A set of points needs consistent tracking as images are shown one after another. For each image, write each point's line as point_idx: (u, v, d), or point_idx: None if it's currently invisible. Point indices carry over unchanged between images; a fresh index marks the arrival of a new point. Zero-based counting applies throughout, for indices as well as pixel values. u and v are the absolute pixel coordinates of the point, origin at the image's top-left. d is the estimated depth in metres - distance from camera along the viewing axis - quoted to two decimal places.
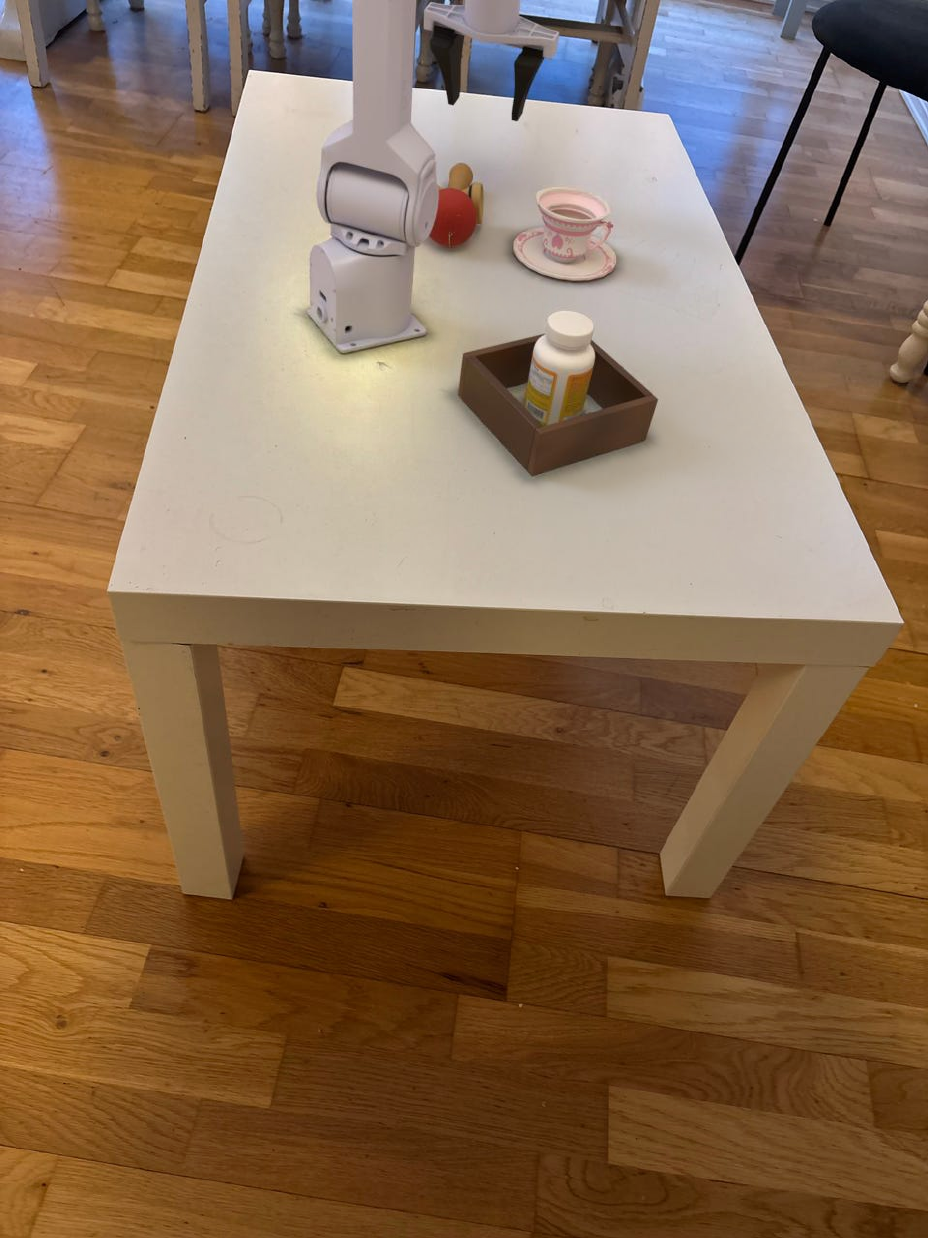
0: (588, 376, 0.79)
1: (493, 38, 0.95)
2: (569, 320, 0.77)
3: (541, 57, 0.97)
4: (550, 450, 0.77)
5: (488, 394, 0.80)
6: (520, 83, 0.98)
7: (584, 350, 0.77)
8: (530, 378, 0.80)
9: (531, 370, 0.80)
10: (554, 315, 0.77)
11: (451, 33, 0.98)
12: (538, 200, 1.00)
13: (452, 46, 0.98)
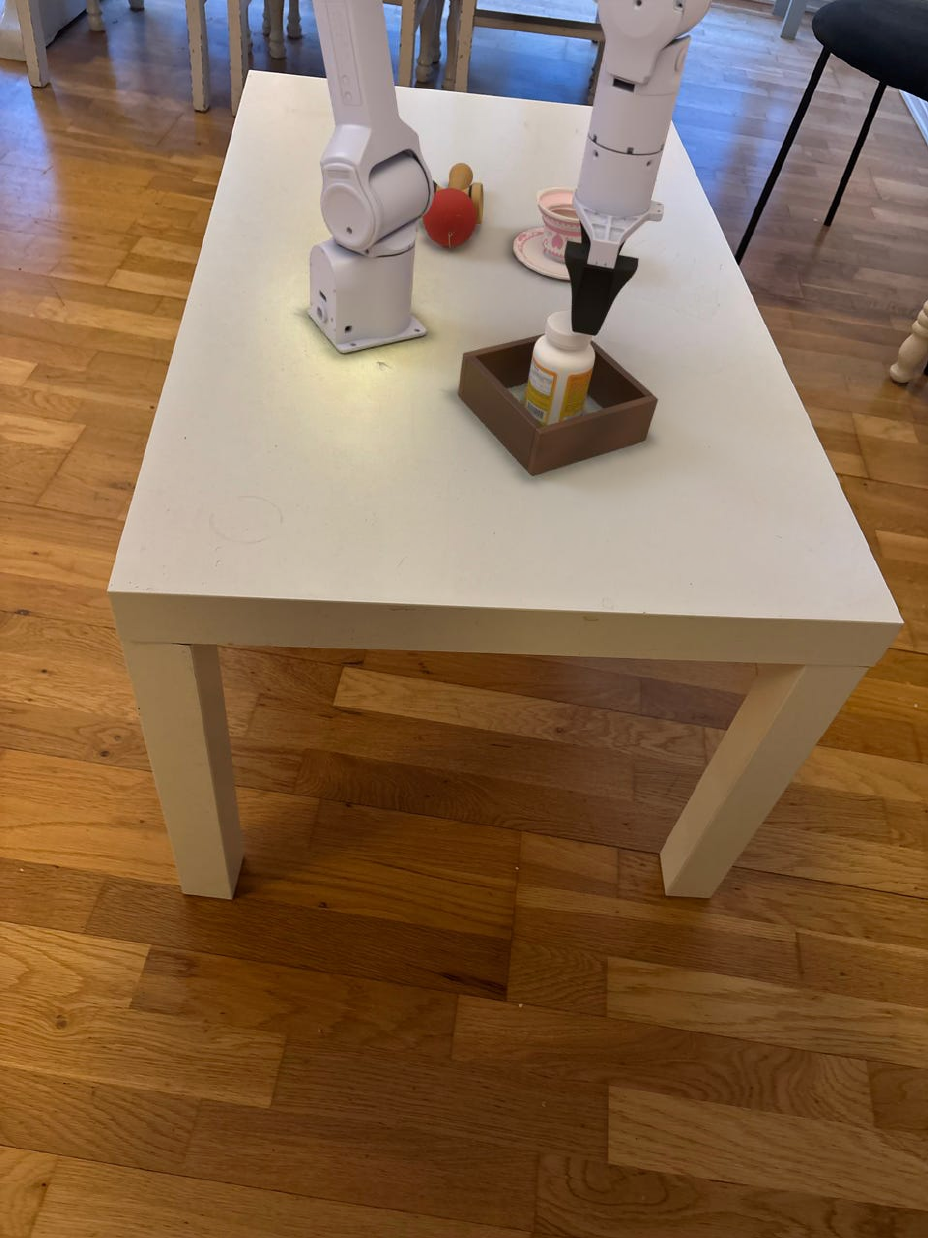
0: (588, 376, 0.79)
1: (574, 203, 0.70)
2: (569, 320, 0.77)
3: None
4: (550, 450, 0.77)
5: (488, 394, 0.80)
6: None
7: (584, 350, 0.77)
8: (530, 378, 0.80)
9: (531, 370, 0.80)
10: (554, 315, 0.77)
11: None
12: (538, 200, 1.00)
13: None
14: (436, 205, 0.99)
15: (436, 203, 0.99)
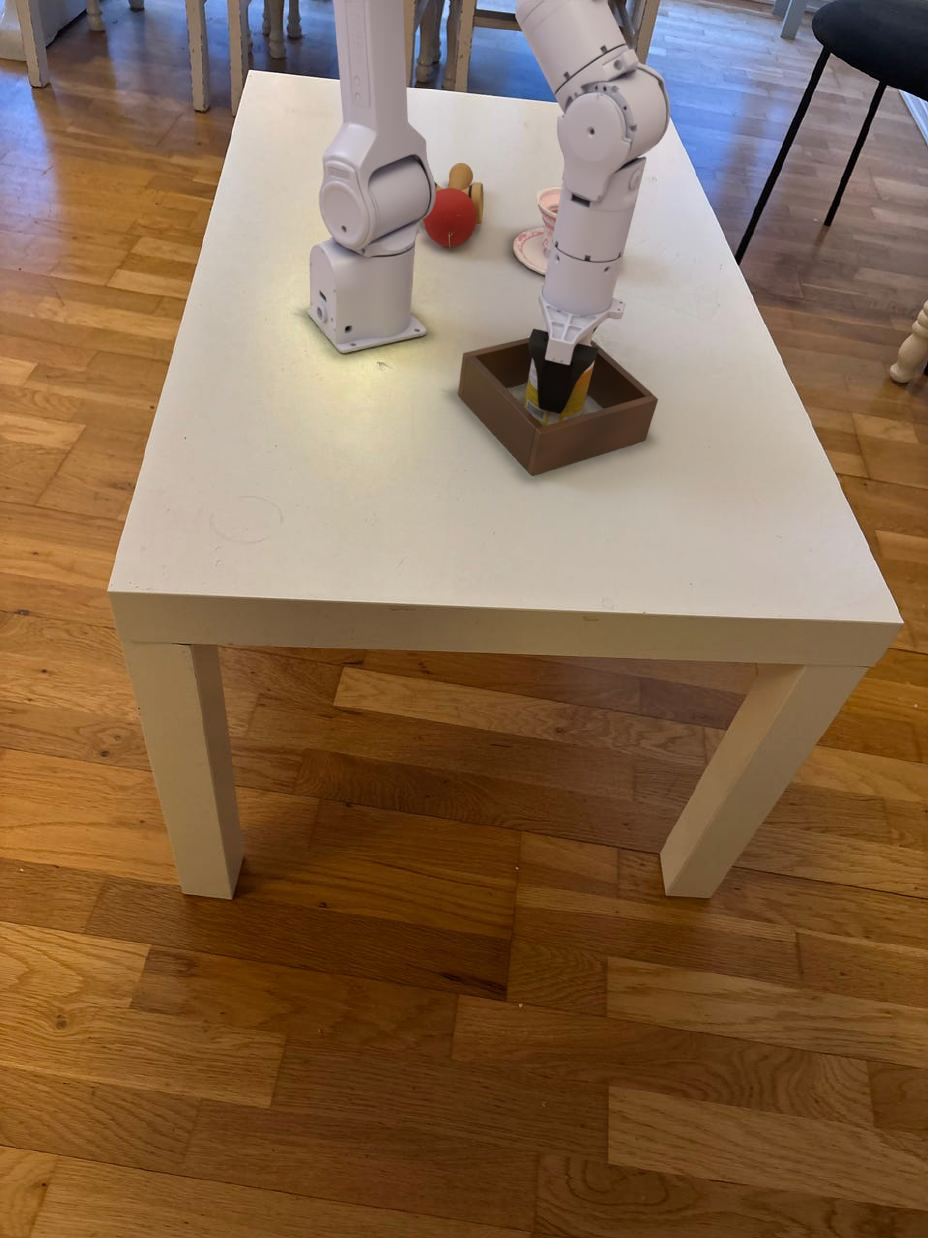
0: (588, 376, 0.79)
1: (540, 299, 0.74)
2: None
3: None
4: (550, 450, 0.77)
5: (488, 394, 0.80)
6: None
7: None
8: (530, 378, 0.80)
9: (531, 370, 0.80)
10: None
11: None
12: (538, 200, 1.00)
13: None
14: (436, 205, 0.99)
15: (436, 203, 0.99)
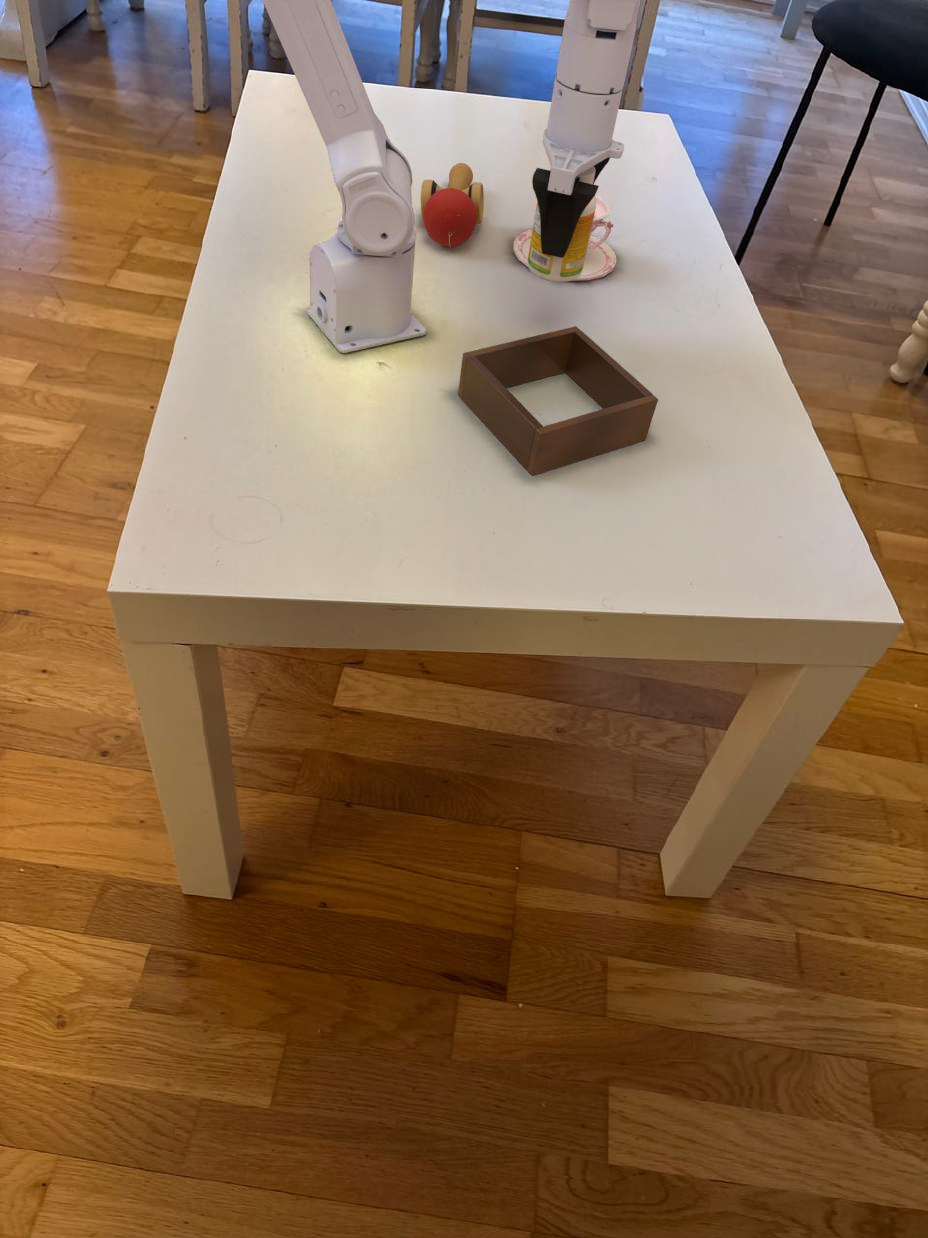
0: (589, 221, 0.83)
1: (544, 139, 0.79)
2: None
3: None
4: (550, 450, 0.77)
5: (488, 394, 0.80)
6: None
7: None
8: (534, 225, 0.84)
9: (535, 216, 0.84)
10: None
11: None
12: None
13: None
14: (436, 205, 0.99)
15: (436, 203, 0.99)
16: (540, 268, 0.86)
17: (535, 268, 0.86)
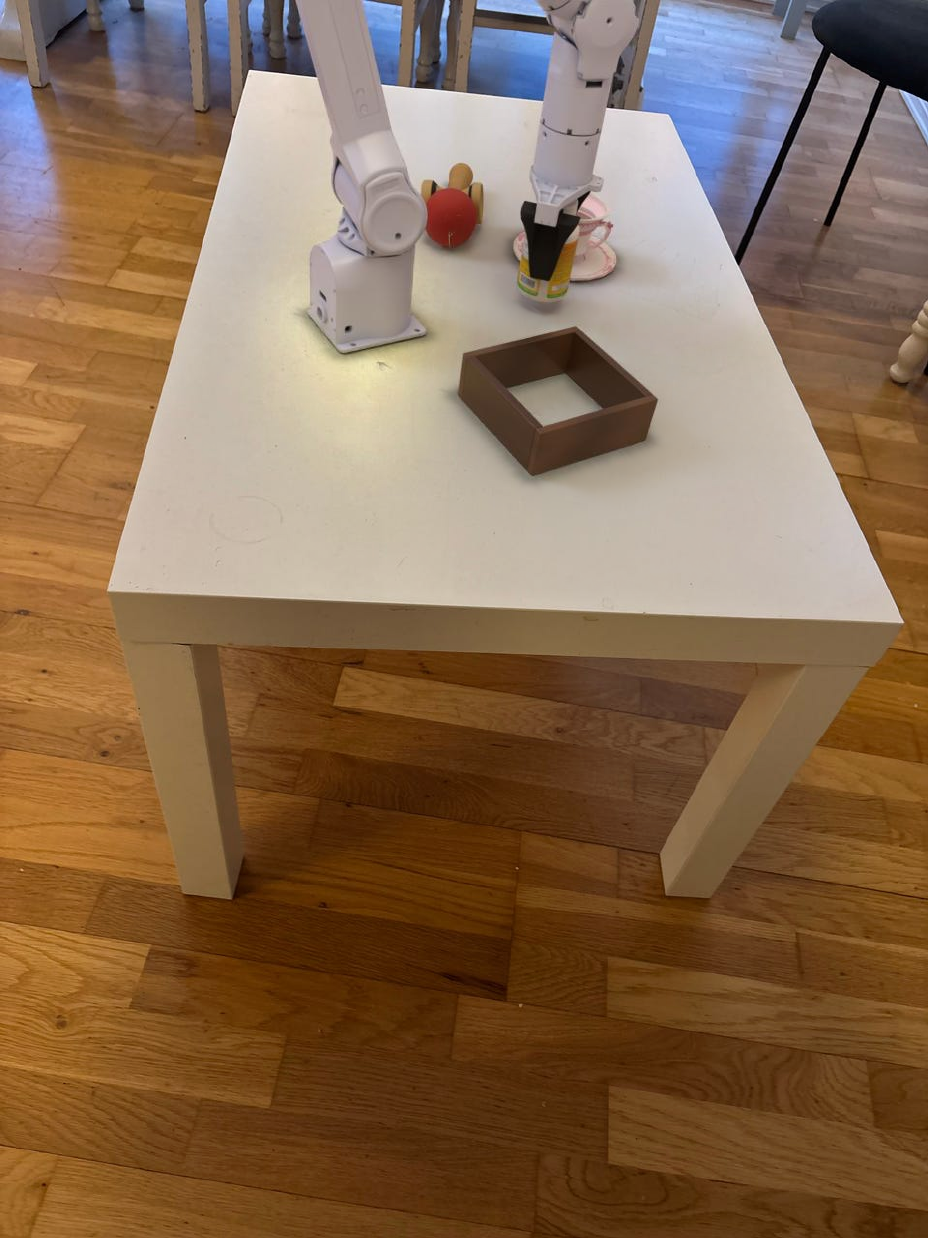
0: (573, 247, 0.91)
1: (530, 175, 0.86)
2: None
3: None
4: (550, 450, 0.77)
5: (488, 394, 0.80)
6: None
7: None
8: (523, 251, 0.92)
9: (524, 243, 0.91)
10: None
11: None
12: None
13: None
14: (436, 205, 0.99)
15: (436, 203, 0.99)
16: (528, 290, 0.93)
17: (524, 290, 0.94)
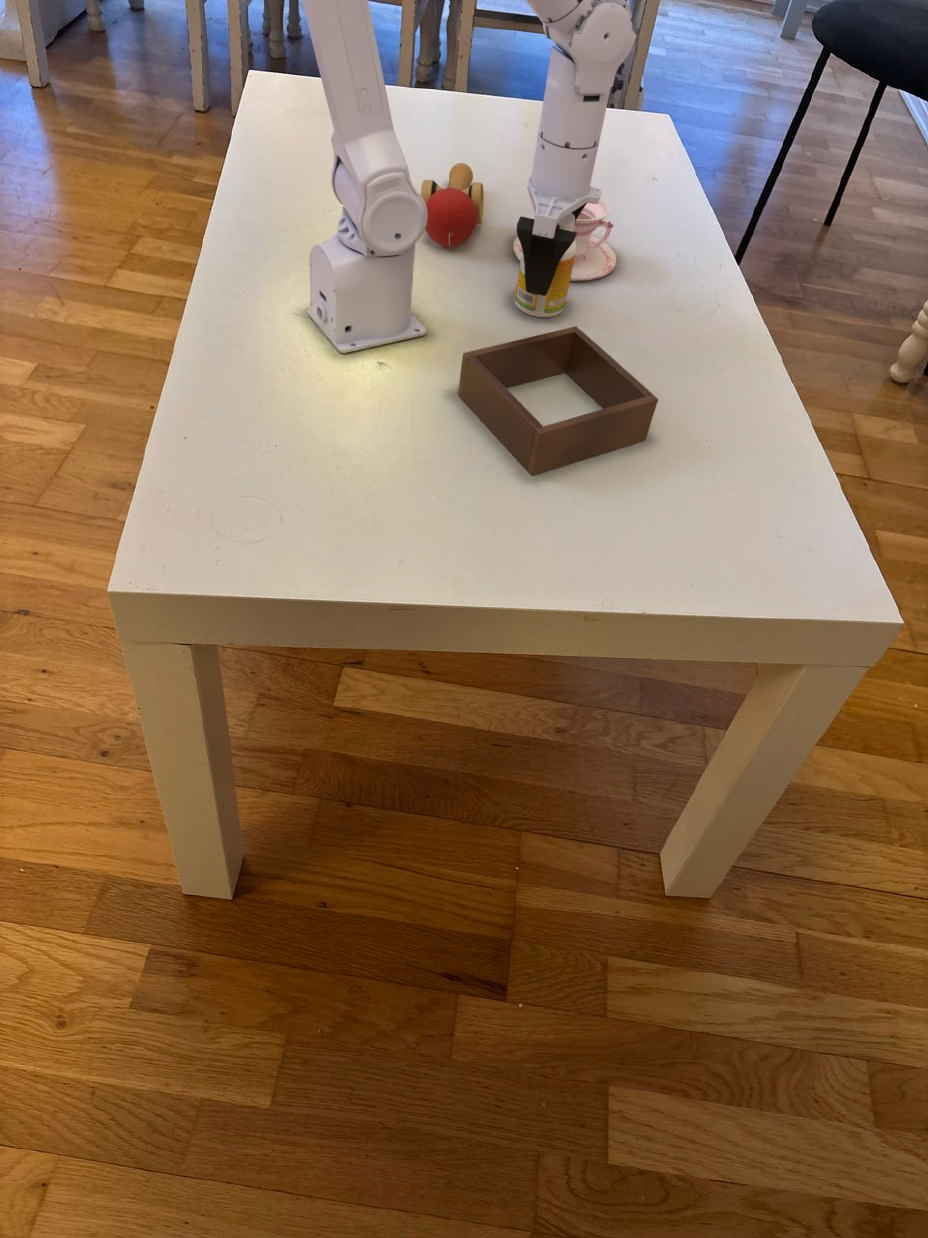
0: (570, 263, 0.92)
1: (528, 187, 0.87)
2: None
3: None
4: (550, 450, 0.77)
5: (488, 394, 0.80)
6: None
7: None
8: (521, 267, 0.93)
9: (521, 259, 0.93)
10: None
11: None
12: None
13: None
14: (436, 205, 0.99)
15: (436, 203, 0.99)
16: (526, 305, 0.95)
17: (522, 305, 0.95)
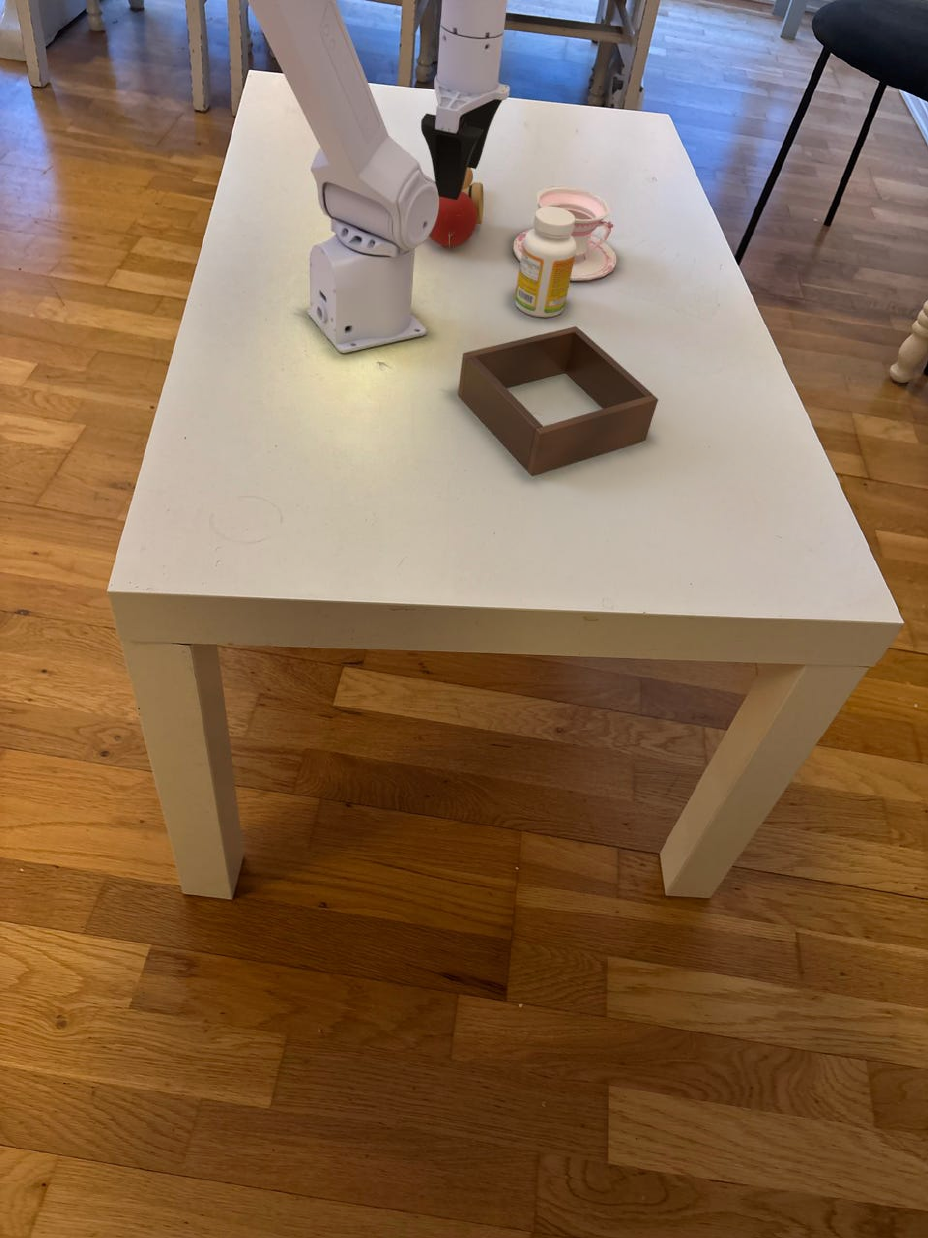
0: (570, 263, 0.92)
1: (434, 83, 0.85)
2: (554, 213, 0.90)
3: None
4: (550, 450, 0.77)
5: (488, 394, 0.80)
6: None
7: (567, 239, 0.90)
8: (521, 267, 0.93)
9: (521, 259, 0.93)
10: (541, 209, 0.90)
11: None
12: (538, 200, 1.00)
13: None
14: None
15: None
16: (526, 305, 0.95)
17: (522, 305, 0.95)
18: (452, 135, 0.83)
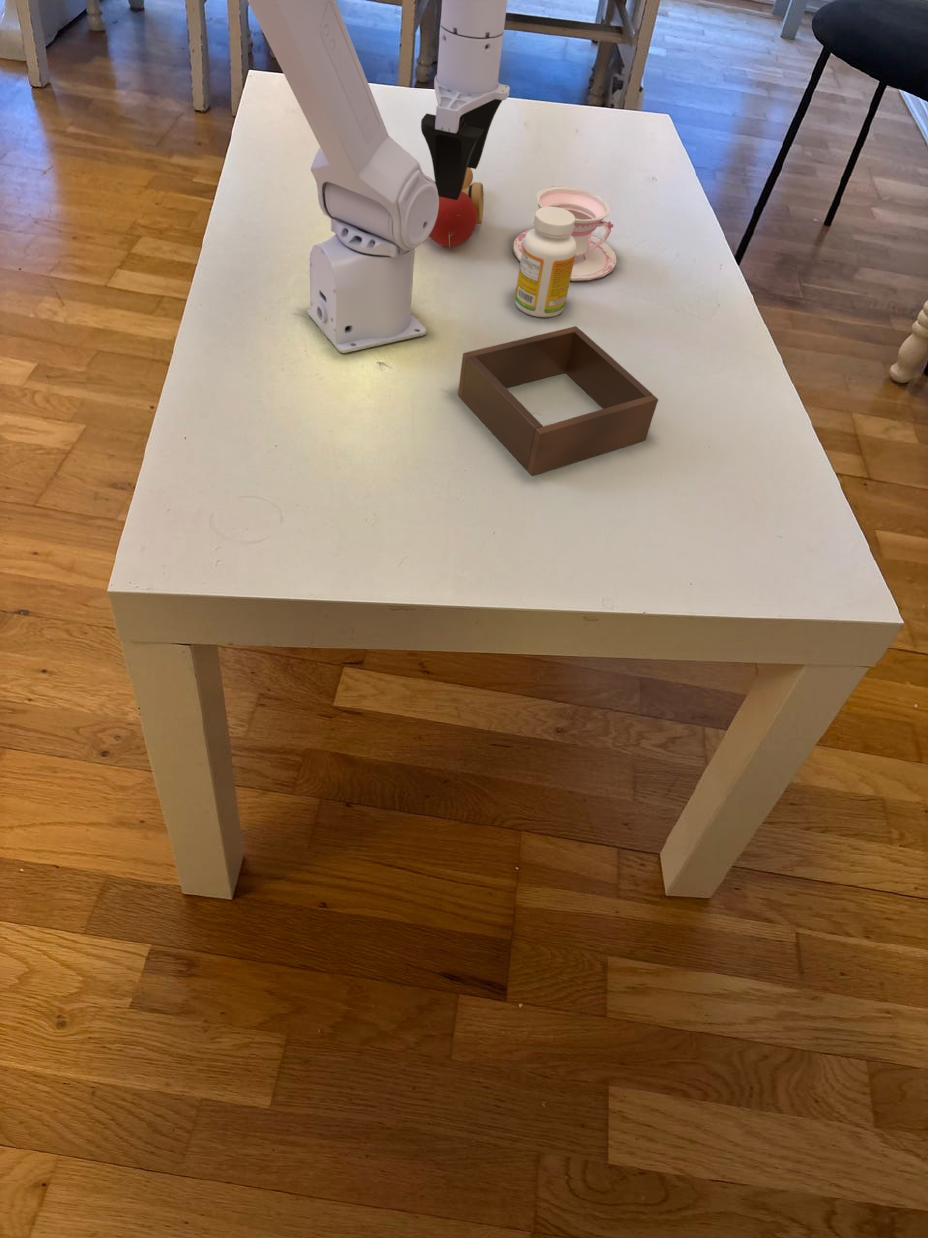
0: (570, 263, 0.92)
1: (434, 83, 0.85)
2: (554, 213, 0.90)
3: None
4: (550, 450, 0.77)
5: (488, 394, 0.80)
6: None
7: (567, 239, 0.90)
8: (521, 267, 0.93)
9: (521, 259, 0.93)
10: (541, 209, 0.90)
11: None
12: (538, 200, 1.00)
13: None
14: None
15: None
16: (526, 305, 0.95)
17: (522, 305, 0.95)
18: (452, 135, 0.83)
